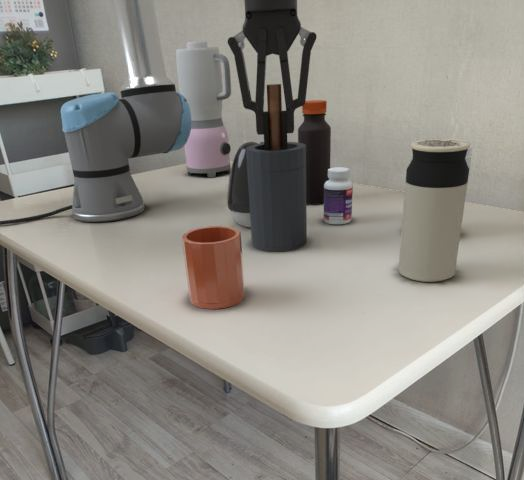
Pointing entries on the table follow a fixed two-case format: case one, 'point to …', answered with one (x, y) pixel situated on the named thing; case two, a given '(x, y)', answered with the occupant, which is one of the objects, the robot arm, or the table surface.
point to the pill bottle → (338, 196)
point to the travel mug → (433, 209)
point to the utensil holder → (277, 197)
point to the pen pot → (214, 266)
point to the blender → (205, 106)
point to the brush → (274, 116)
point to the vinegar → (315, 149)
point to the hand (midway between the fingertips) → (276, 155)
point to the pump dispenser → (239, 187)
